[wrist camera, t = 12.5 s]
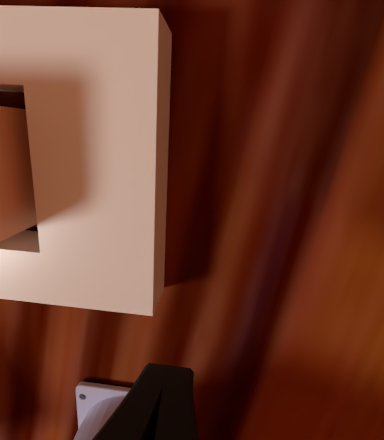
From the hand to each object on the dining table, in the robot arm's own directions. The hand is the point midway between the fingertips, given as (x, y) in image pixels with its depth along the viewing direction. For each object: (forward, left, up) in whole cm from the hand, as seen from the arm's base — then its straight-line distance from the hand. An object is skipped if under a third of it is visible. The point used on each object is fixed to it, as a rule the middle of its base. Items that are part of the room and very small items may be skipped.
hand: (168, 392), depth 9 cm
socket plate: (+5, +11, -9) cm, 15 cm away
